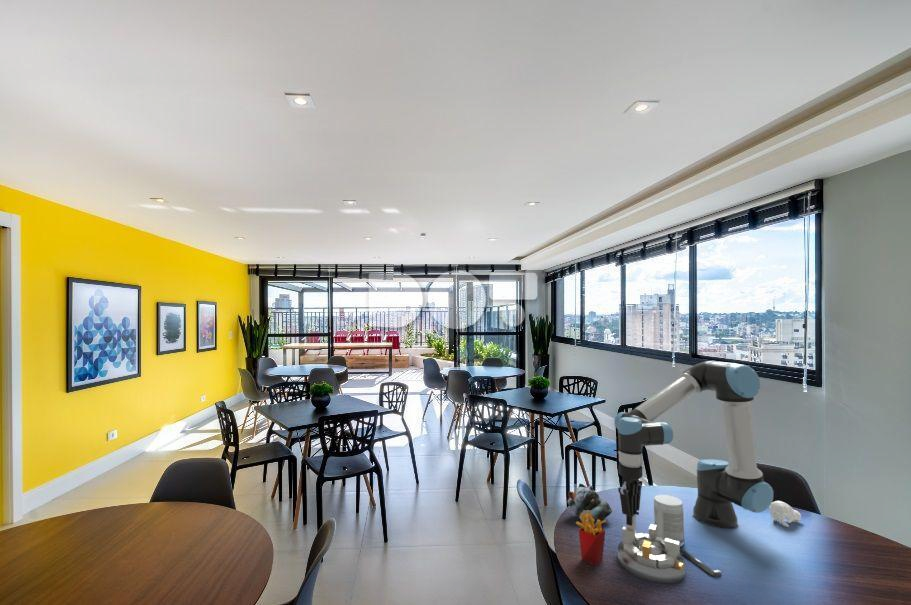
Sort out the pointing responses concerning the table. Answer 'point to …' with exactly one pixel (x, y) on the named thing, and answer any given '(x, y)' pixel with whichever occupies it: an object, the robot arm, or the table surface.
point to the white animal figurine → (783, 513)
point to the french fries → (591, 539)
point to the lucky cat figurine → (588, 503)
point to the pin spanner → (701, 564)
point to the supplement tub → (669, 518)
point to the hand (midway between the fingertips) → (631, 533)
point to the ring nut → (645, 556)
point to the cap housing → (649, 572)
